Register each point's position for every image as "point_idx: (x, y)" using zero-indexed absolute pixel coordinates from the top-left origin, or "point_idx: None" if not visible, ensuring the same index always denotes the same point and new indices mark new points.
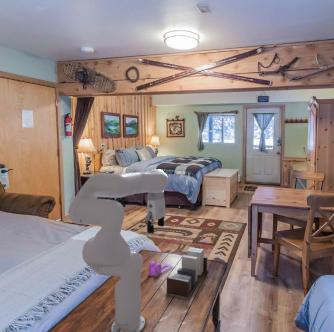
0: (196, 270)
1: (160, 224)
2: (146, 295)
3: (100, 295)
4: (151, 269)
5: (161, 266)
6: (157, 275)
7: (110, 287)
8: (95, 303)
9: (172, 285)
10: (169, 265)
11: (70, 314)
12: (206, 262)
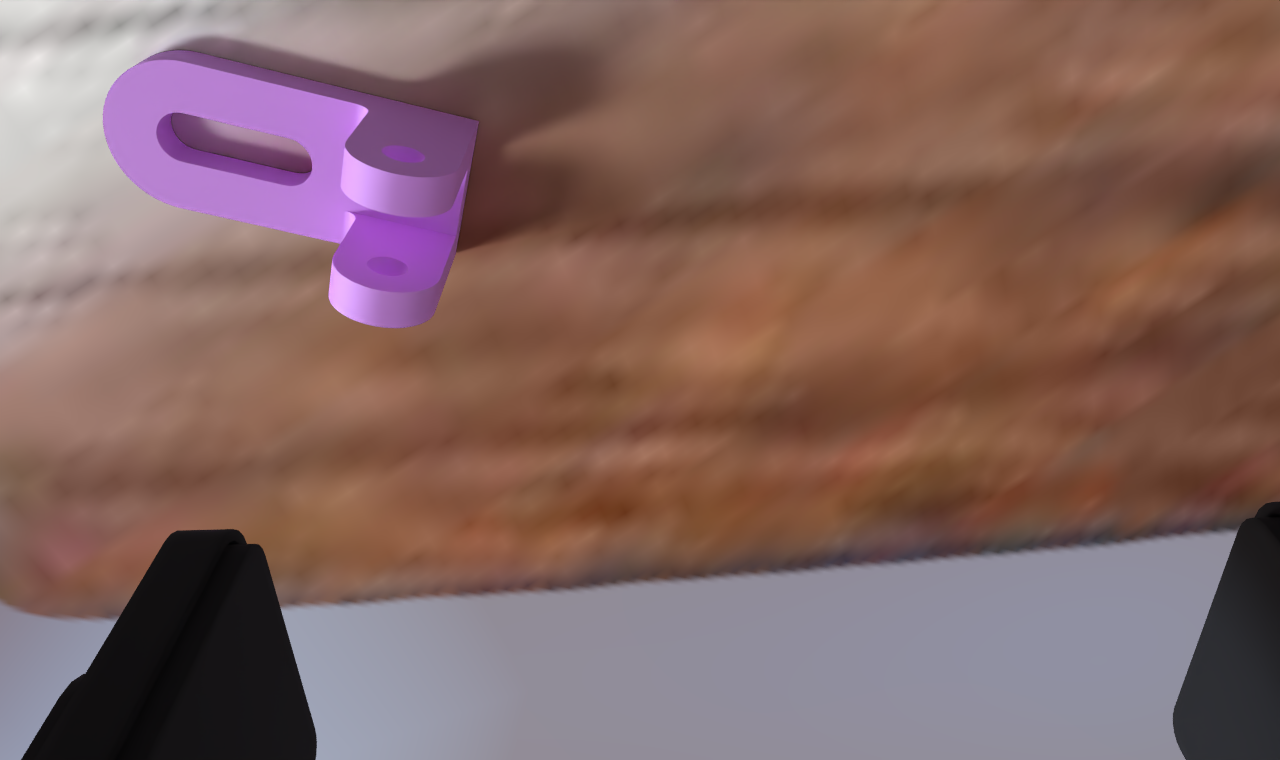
0: None
1: (264, 718)
2: (876, 17)
3: (974, 474)
4: (432, 255)
5: (226, 200)
6: (451, 125)
7: (826, 477)
8: (1104, 433)
9: None
10: (132, 104)
11: None
12: None
